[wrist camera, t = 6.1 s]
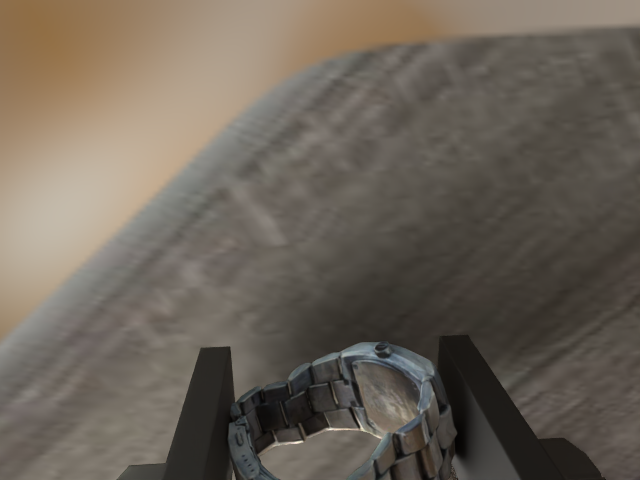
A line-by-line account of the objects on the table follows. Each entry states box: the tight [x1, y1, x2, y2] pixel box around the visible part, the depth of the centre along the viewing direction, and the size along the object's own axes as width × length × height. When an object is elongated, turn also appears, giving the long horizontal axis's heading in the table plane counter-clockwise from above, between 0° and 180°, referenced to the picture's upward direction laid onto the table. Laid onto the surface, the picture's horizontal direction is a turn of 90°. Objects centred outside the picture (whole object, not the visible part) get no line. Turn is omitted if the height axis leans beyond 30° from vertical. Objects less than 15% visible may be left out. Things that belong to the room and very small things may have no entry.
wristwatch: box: [227, 341, 457, 480], centre depth 12 cm, size 3×5×5 cm
